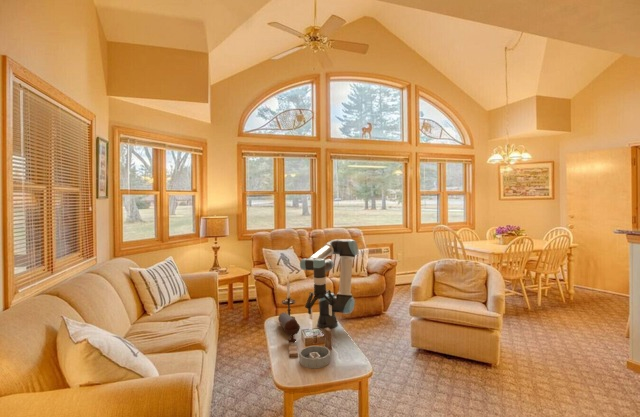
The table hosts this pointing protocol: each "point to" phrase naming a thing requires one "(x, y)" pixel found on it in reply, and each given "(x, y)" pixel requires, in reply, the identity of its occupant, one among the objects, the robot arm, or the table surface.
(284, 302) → the candlestick
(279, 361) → the table surface
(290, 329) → the ice cream bowl
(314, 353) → the grey pet bowl
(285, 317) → the bluetooth speaker
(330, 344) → the wick slat
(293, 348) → the slat
